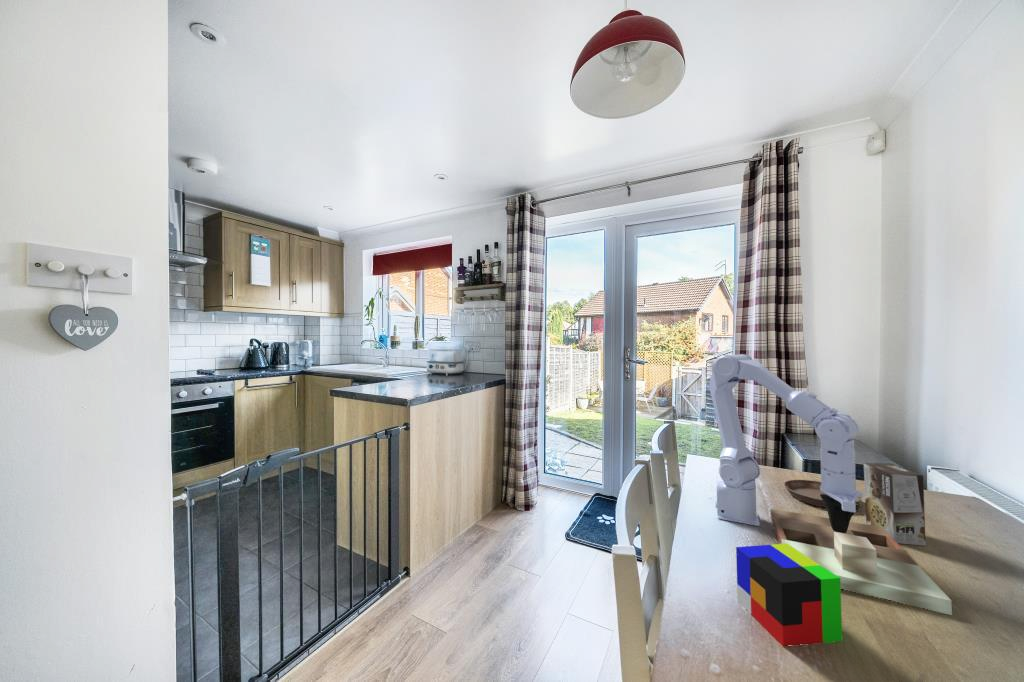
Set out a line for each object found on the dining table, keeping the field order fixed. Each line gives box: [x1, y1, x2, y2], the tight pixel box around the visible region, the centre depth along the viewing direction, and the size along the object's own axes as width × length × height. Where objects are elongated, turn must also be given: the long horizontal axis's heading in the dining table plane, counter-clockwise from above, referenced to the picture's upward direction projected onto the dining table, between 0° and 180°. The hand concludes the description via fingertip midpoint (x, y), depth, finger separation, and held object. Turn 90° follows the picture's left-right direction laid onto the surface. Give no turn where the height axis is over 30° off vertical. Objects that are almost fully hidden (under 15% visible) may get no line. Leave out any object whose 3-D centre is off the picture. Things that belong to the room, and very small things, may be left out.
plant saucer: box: [783, 479, 863, 509], centre depth 108 cm, size 18×18×3 cm
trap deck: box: [769, 508, 953, 616], centre depth 79 cm, size 22×28×2 cm
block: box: [834, 532, 877, 576], centre depth 72 cm, size 5×5×5 cm
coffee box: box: [863, 462, 927, 546], centre depth 88 cm, size 9×6×16 cm
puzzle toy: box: [735, 543, 843, 648], centre depth 61 cm, size 10×10×10 cm
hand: (839, 531), depth 80 cm, fingers closed
